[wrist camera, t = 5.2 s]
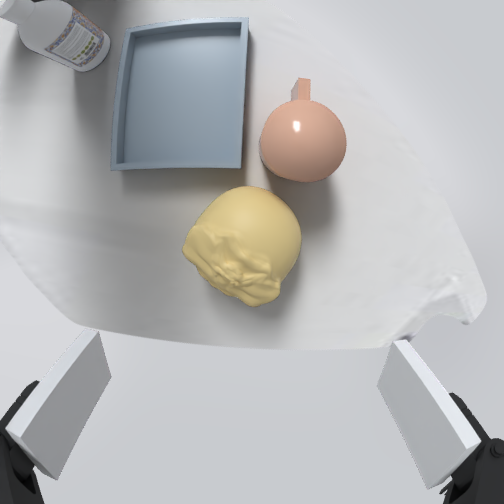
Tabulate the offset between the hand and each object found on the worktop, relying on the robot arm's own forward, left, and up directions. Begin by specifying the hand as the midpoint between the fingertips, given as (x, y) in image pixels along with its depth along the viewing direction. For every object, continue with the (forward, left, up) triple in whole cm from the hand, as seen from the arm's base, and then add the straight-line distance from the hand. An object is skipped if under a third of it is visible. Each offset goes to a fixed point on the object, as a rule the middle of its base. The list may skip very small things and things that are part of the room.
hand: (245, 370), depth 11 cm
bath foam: (-27, -24, -26) cm, 45 cm away
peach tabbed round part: (-13, +5, -26) cm, 29 cm away
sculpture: (0, 0, -26) cm, 26 cm away
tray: (-18, -9, -26) cm, 33 cm away
